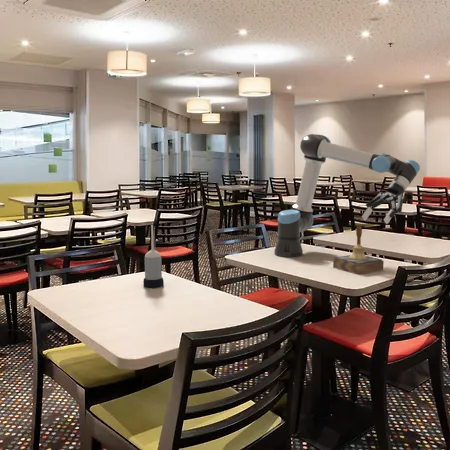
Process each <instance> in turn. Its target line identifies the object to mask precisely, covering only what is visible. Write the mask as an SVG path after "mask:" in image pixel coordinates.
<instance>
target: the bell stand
mask: <svg viewBox="0 0 450 450" xmlns="http://www.w3.org/2000/svg"><path fill="white" fill-rule="evenodd" d="M349 256H351V254H348V255H340V256H334V257H333V260H332V261H333V262H332V263H333V264H332V265H333V268H334V269H336V270H341V271H345V272H348V273H352V274H355V275H361V274H368V273H373V272H381V271H384V263H385V262H384V260H383V259H380V258H378V257H373V256H368V255H365V256H366V257H367V259H366V260H353V259H350V258H349Z"/></svg>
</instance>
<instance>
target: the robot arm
mask: <svg viewBox="0 0 450 450" xmlns="http://www.w3.org/2000/svg"><path fill="white" fill-rule="evenodd" d="M299 145H300V150H301V153H303V154H304V156H303V158H304V160H305V163H304V167H303V172H302V175H301V176H302V177H301V181H300V185H299V189H298V192H297V197H296V202H295V204H292V207H291V209H286V210H284V209H283V210H281V211H280V212H279V213H278V216H277V241H276V245H275V248H274V250H273V251H274V252H273V253H274V255H275V256H278V257H283V258H284V257H286V258H287V257H289V258H292V257H293V258H294V257H295V258H296V257H300V256H303V254H304V253H303V252H304V250H303V247H302V244H301V239H300V238H301V232H305V231H307V230H309V229H310V228H311V227H312V226H313V224H314V217H313V212H314V209H313V208H312V205H313V201H314V196H315V193H316V188H317V184H318V180H319V177H320V173H321V168H322V165H323V164H325V163H326V159H329V160H332V161H337V162H340V163H341V162H342V163H345V164H349V165H353V166H357V167H360V168H363V169H368V170H372V171H375V172H377V173H378V174H379V173H380V174H384V173H389V174H392V175H394V176H395V177H394V178H393V179H392V181H391V183H390V184H389V185H388V186H387V188H386V191H385V193H383V192H382V191H381V192H379V193H378V194H377V195H376V196H375V197H373V198H372V199H371V200H370V201H368V202H366V204H365V207H366V209H365V210H364V212H363V214H362V216H361V219H363V221H366V220H367V219H368V218H369V216H370V215H371V214H372V212H373V210H374V209H375V208H377V207H379V206H381V205H383V204H388V203H389V204H391V207H392V208H390V210H389V211H388V213H387V214H386V215H385V217H384V218H383V222H384V223H385V225H388V224H389V222H390V221H391V219H393V218H394V217H395V215H396V214H397V213H402V212H403V211H402V210H403V205H404V204H403V203H404V200H405V196H404V195H403V194H404V193H405V191H406V190H407V189H408V188H409V186H410V185H411V183H412V182H413V180H414V179H415V178H416V176H417V175H418V173H419V171H420V170H421V166H420V164H419V163H418V162H417V161H416V160H413V159H409V160H407V161H402V160H401V159H398V158H396V157H394V156H391V154H387V153H385V152H384V153H381V154H380V155H379V154H376V153H372V152H368V151H363V150H360V149H356V148H352V147H347V146H344V145H339V144H336V143H332V142H331V139H329V137H327V136H325V135H323V134H316V133H314V134H313V133H309V134H307V135H305V136H304V137H303V138H302V139H301V141H300V144H299Z"/></svg>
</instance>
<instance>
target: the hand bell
mask: <svg viewBox="0 0 450 450" xmlns="http://www.w3.org/2000/svg"><path fill="white" fill-rule="evenodd" d="M355 233H356V234H355V235H356V245H354V246H353V250H352V253H351V254H350V255H351V256H349V258H350V259H353V260H366V259H367V257H366V256H367V255H366V254H365V248H364V246H362V245H361V244H362V243H361V242H362V241H361V239H362V234H363V228H362V225H361V224H360V223H358V224H357V227H356V230H355Z"/></svg>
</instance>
